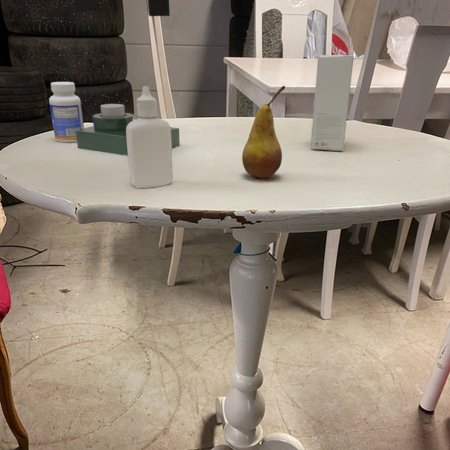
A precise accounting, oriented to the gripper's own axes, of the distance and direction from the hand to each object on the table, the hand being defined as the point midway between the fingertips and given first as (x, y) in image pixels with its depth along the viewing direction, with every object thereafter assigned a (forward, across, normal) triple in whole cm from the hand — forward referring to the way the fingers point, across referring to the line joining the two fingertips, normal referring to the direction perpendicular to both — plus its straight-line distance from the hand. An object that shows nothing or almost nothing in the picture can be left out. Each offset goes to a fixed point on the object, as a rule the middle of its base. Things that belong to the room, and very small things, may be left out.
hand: (126, 14), depth 56 cm
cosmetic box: (+20, +34, -16) cm, 43 cm away
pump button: (+15, +15, +17) cm, 27 cm away
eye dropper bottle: (+20, -2, -3) cm, 20 cm away
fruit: (+20, +9, -14) cm, 26 cm away
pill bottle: (+19, +14, +27) cm, 36 cm away
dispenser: (+19, +15, +14) cm, 28 cm away
